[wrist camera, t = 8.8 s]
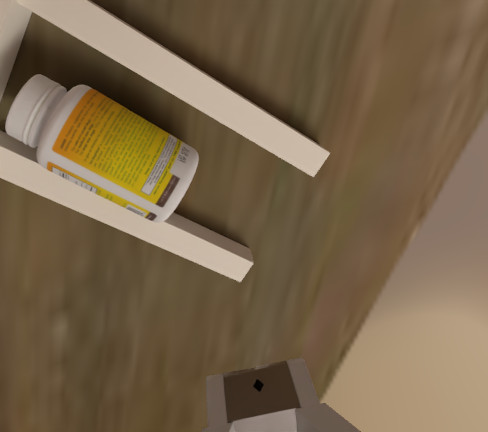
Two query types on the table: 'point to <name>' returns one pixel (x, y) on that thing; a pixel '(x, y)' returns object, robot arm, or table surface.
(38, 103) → the supplement bottle
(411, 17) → the table surface
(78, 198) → the u rest
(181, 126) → the table surface
